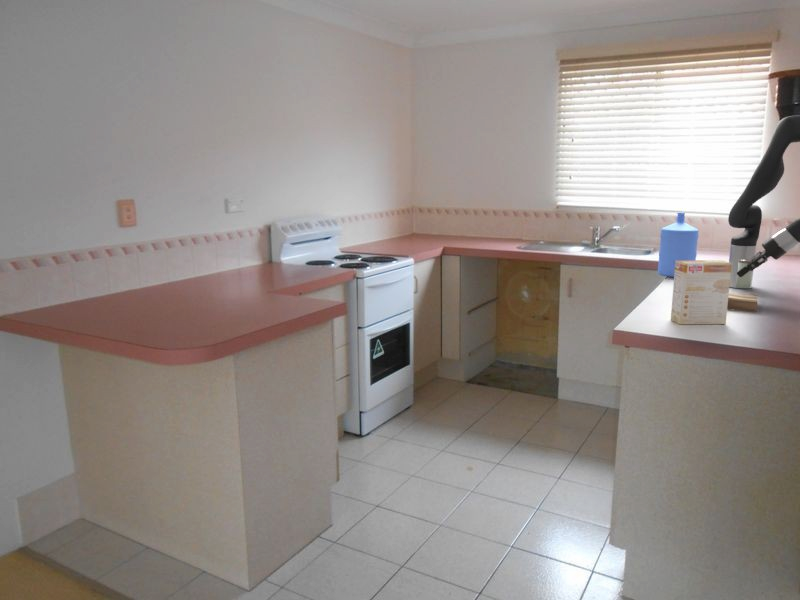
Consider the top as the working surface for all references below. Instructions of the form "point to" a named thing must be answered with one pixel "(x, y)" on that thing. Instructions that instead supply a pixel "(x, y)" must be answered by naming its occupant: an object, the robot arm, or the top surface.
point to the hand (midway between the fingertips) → (738, 274)
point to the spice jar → (746, 279)
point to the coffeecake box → (701, 291)
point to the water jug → (676, 245)
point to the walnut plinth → (742, 302)
